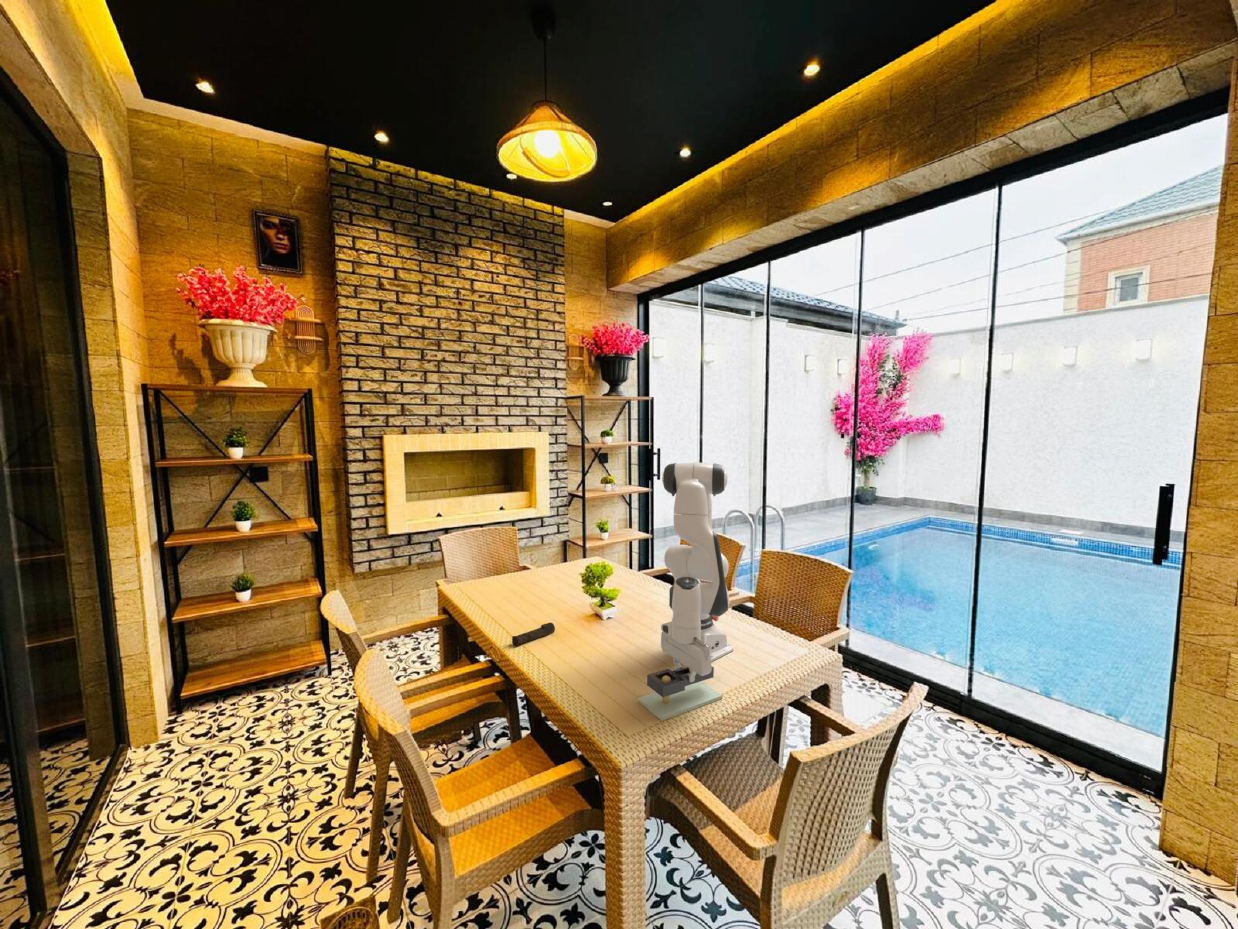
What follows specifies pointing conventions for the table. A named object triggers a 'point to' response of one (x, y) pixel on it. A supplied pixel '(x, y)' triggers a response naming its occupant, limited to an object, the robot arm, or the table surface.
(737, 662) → the table surface
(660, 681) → the grey hollow frame
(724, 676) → the table surface
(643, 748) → the table surface
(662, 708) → the keeper board
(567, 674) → the table surface
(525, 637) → the hand tool
